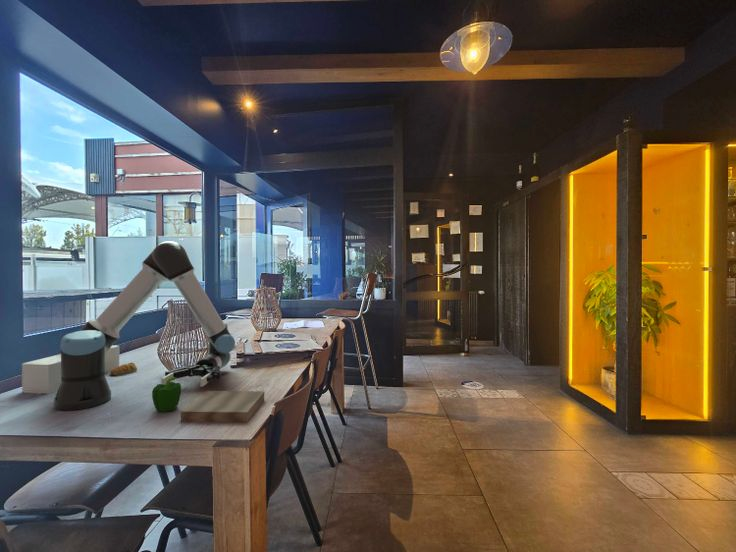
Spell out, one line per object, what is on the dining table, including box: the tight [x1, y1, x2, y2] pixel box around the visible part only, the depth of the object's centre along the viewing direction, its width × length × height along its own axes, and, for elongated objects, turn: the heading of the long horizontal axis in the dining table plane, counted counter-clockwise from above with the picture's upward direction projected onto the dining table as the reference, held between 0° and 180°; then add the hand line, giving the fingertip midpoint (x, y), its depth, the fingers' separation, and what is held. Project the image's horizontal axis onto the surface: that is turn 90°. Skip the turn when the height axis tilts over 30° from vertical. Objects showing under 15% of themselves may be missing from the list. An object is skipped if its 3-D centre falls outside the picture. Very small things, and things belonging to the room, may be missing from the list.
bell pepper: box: [151, 377, 182, 413], centre depth 116 cm, size 8×8×10 cm
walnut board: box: [179, 390, 265, 423], centre depth 116 cm, size 20×18×3 cm
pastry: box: [110, 362, 138, 376], centre depth 154 cm, size 9×7×4 cm
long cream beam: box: [21, 345, 120, 395], centre depth 144 cm, size 32×11×11 cm, turn 174°
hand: (181, 382), depth 124 cm, fingers open, 13 cm apart
